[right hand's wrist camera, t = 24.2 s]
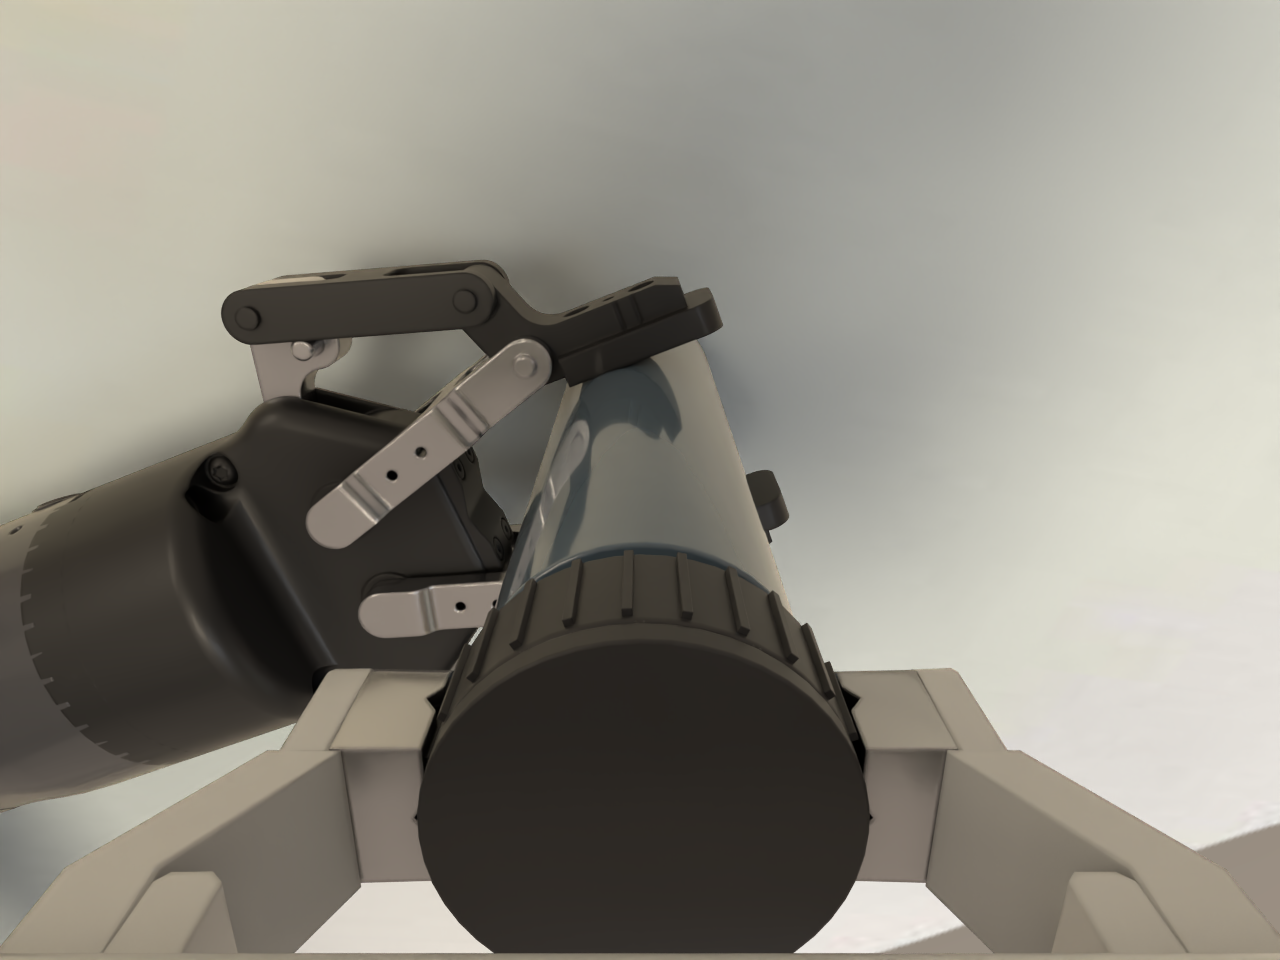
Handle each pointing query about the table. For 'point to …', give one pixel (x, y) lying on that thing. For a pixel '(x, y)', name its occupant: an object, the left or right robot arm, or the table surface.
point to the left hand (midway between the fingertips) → (745, 403)
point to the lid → (643, 769)
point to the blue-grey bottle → (643, 478)
